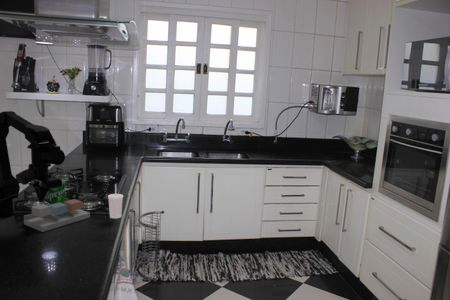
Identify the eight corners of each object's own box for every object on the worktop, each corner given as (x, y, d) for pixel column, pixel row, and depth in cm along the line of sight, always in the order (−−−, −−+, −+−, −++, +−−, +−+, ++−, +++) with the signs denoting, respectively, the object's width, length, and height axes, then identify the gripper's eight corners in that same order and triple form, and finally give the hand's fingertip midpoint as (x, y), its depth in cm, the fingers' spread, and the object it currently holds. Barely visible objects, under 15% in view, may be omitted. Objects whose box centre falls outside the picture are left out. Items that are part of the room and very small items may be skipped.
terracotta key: (64, 208, 163) (64, 201, 163) (74, 205, 167) (74, 199, 167) (71, 211, 161) (71, 204, 160) (81, 208, 165) (81, 201, 164)
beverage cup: (107, 219, 163) (107, 186, 161) (108, 214, 169) (108, 182, 166) (123, 218, 165) (123, 185, 162) (123, 213, 171) (123, 182, 168)
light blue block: (48, 212, 157) (48, 205, 157) (59, 209, 161) (59, 202, 161) (56, 215, 155) (56, 207, 154) (67, 212, 159) (66, 204, 158)
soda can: (44, 204, 177) (43, 178, 175) (61, 201, 182) (60, 176, 180) (52, 209, 172) (51, 182, 170) (68, 205, 177) (68, 179, 175)
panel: (24, 224, 153) (23, 215, 153) (71, 210, 171) (71, 203, 170) (42, 232, 147) (42, 222, 146) (89, 217, 164) (89, 209, 164)
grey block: (31, 214, 152) (31, 206, 151) (43, 211, 155) (43, 204, 155) (39, 217, 149) (39, 209, 148) (51, 214, 153) (50, 206, 152)
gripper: (4, 160, 147) (6, 201, 150) (34, 168, 137) (35, 212, 140) (33, 156, 156) (34, 194, 159) (62, 163, 146) (63, 204, 149)
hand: (41, 201), depth 151 cm, fingers closed
